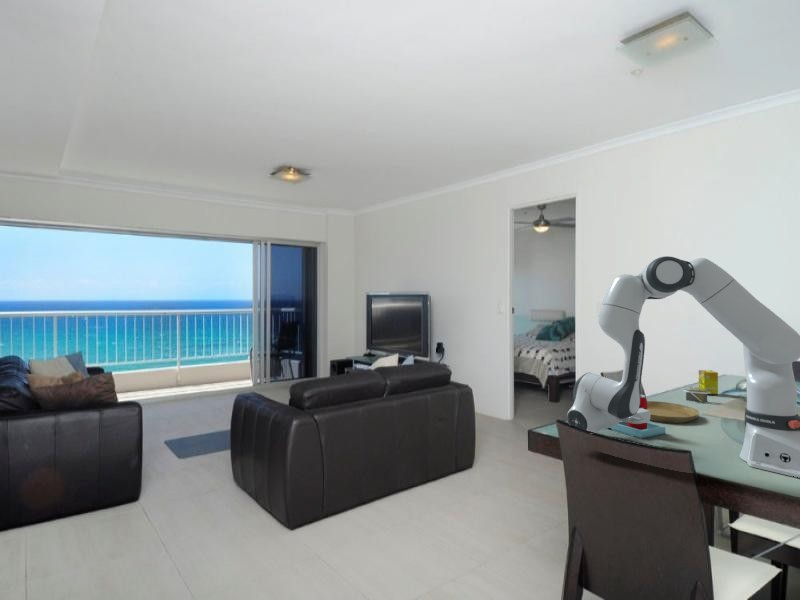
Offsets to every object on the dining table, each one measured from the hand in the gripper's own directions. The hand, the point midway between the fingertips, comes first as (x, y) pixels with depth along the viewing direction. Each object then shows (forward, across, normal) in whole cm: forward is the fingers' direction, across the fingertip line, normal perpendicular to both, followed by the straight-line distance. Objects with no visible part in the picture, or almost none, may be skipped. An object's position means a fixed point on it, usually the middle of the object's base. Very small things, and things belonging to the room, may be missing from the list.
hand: (627, 407), depth 158 cm
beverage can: (+6, 0, +9) cm, 11 cm away
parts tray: (+6, 0, +9) cm, 11 cm away
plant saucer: (+35, +5, +10) cm, 37 cm away
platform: (+72, +7, +10) cm, 74 cm away
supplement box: (+93, +11, +9) cm, 94 cm away
